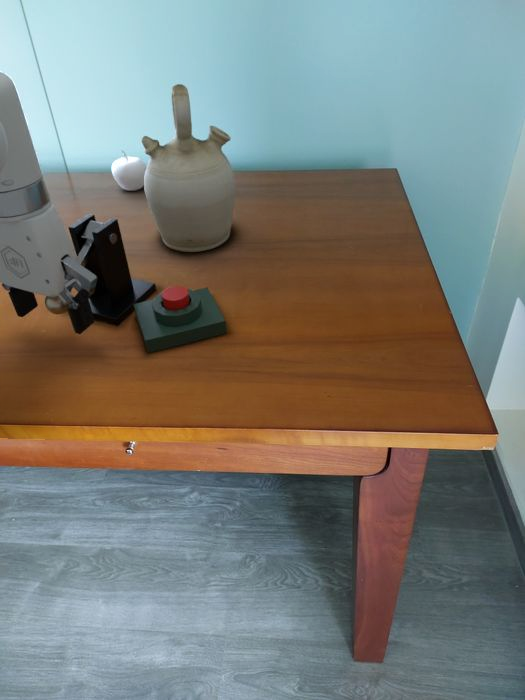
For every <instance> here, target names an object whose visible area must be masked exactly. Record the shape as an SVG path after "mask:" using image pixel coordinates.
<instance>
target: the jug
mask: <svg viewBox="0 0 525 700" xmlns="http://www.w3.org/2000/svg"><path fill="white" fill-rule="evenodd" d="M170 94H171V109H172V119H173V126H174V136H173V138H172V139H171V140H170V141H168V142H167V143H166V144H164V145H160V141H159V140H158V139H153V138H151V137H150V136H148V135H144V136H143V137H142V138H141V144H142V146H143V148H144V153H145V155H147V156H149V157H150V158H149V159H148V162H147V164H146V170H145V176H144V184H143V189H144V195H145V199H146V202H147V204H148V207H149V210H150V212H151V215H152V218H153V221H154V223H155V226H156V228H157V230H158V233H159V235H160V237H161V239H162V241H163V244H164V245H165V246H167V247H168V248H169V249H171V250H174V251H177V252H182V253H200V252H205V251H210V250H213V249H215V248H217V247H219V246H221V245H223V244H224V243H225V242H226V241H227V240H228V239H229V237H230V235H231V229H232V224H233V215H234V209H235V208H234V207H235V198H236V180H235V179H236V178H235V174H234V173H235V172H234V169H233V168H232V165H231V163H230V161H229V159H228V157H227V156H226V154H225V153H224V152H223V150H222V148H223V146H224V145H226V144H227V143H228V142H230V141H231V139H232V138H231V136H230V135H229V134H228V133H227V132H225V131H224V130H222V129H221V128H219V127H217V126H215V125H210V126H209V132H208V137H207V138H206V139H199V138H196V137H194V135H193V134H192V133H193V123H192V111H191V102H190V95H189V90H188V87H186V86H185V85H184V84H180V83H177V84H175V85H173V86H172V87H171V91H170Z"/></svg>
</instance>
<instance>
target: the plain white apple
mask: <svg viewBox="0 0 525 700" xmlns="http://www.w3.org/2000/svg"><path fill="white" fill-rule="evenodd" d="M120 152H121V153H122V155H123V156H124V157H120V158H118V159H116V160H114V162H112V165H111V174H112V177H113V178H114V180H115V181H116V183H117V184H118V185H119V186H120V188H121V189H122V190H124V191H128V192H131V191H132V192H133V191H134V192H135V191H138V190H140V189H142V188H143V187H144V176H145V170H146V167H147V165H146V164H145V163H144V161H143V160H142V159H141V158H140V157H137V156H128V155H127V154H126V153H125V151H124V150H123V149H122V150H120Z"/></svg>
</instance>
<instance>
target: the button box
mask: <svg viewBox="0 0 525 700" xmlns="http://www.w3.org/2000/svg"><path fill="white" fill-rule="evenodd" d="M186 289H187V290H188V293H189V300H190V304H189V306H187V307H186V308H184V309H180V310H176V311H174V310H167V309H165V308H164V305H163V300H162V292H161V293H160V294H158V295H156V296H155V298H154V299H150V300H145V301H144V302H141V303H137V304H134V309H135V310H134V313H135V318H136V320H137V324H138V326H139V329H140V333H141V336H142V339H143V342H144V345H145V349H146V351H147V354H150V353H151V354H152V353H154V352H159V351H163V350H166V349H171V348H174V347H178V346H183V345H185V344H190V343H194V342H197V341H201V340H206V339H209V338H213V337H217V336H221V335H225V334H227V324H226V323H227V322H226V319H225V317H224V315H223V314H222V311H221V310H220V308H219V306H218V305H217V302H216V300H215V299H214V297H213V294H212V293H211V291H210V289H209V287H203V288H198V289H193V290H192V289H190V288H186Z"/></svg>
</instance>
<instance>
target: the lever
mask: <svg viewBox="0 0 525 700" xmlns="http://www.w3.org/2000/svg"><path fill="white" fill-rule="evenodd" d="M103 224H104V223H103V222H101V221H96V222H95V221H90V222H89V224H88V225H87V227H86V229H85V231H84V232H83V234H82V236H81V237H82V238H83V240H84V241H85V244H84V246H83V248H82V249H81V251H80V253H79V255H78V256H77V255H76V259H77V263H79V264H80V265H82V266H83V267H85V265H86V264H87V262H88V260H89V258H90V257H91V255H92V253H93V251H94V249H95V248H96V246H95V242H94V238H93V235H92V232H93V231H94V230H96V229H97V228H99V227H100V226H101V225H103ZM67 281H68V280H66V279H65V282H64V283H66V282H67ZM67 289H68V291H69V292H70V293H71V292H72V290H73V289H74V287H73V286H72V285H71V286H70V287H68V288H67ZM44 306H45V308H46V310H47V311H48V312H49V313H51V314H54V315H63V314H65V313H68V308H69V307H70V305H69V304H68V303H67V302H66V301H65V300H64V299H63V298H62V296H61V295H60V294H59V295H58V296H55V297H49V296H45V297H44Z"/></svg>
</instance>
